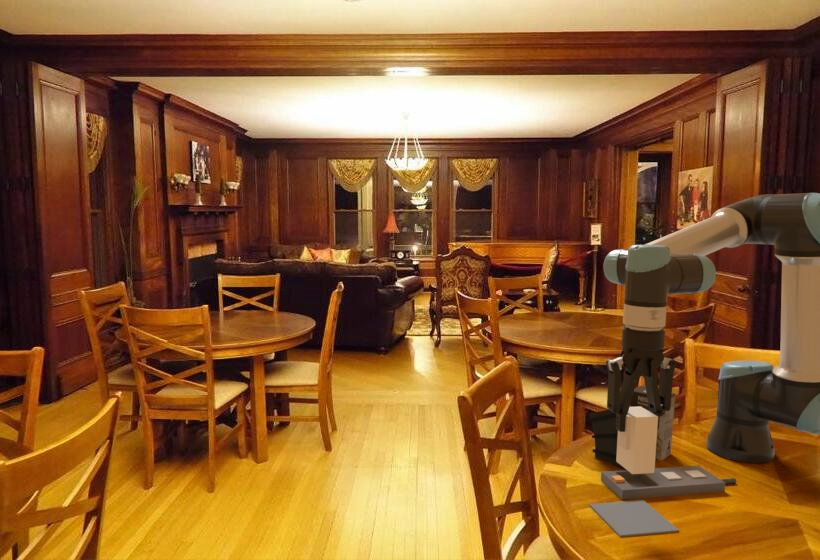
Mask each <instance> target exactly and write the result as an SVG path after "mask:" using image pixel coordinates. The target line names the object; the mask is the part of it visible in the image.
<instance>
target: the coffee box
mask: <svg viewBox="0 0 820 560" xmlns="http://www.w3.org/2000/svg"><path fill="white" fill-rule="evenodd" d="M675 404H676V393H675V392H672V396H671V408H670V410H669V411H663V412H664V415H663V416H660V422H659V429H658V430H657V441H656V455H655V460H658V461H663V460H664V459H666V458H667V457H668V456H670V455H671V454H672V445H673V444H672V442H673V432H674V431H673V429H674V420H675V419H674V418H675V417H674V416H675V406H676V405H675ZM638 406H641V407H642V408H644V409H646V410H648V411H650V410H649V405H648V399H647V393H646V386H645V385H639V386H638V387H635V389H634V393H633V396H632V400H631V403H630V407H638Z"/></svg>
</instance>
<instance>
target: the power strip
mask: <svg viewBox="0 0 820 560" xmlns="http://www.w3.org/2000/svg"><path fill="white" fill-rule="evenodd" d="M600 481H601V482H602V483H603V484H604V485H605V487H607V488H608V489H610V490H611V492H613V493H614V494H615V495H616V497H619V499H621V500H623V501H624V500H633V499H647V498H648V499H649V498H660V497H661V498H662V497H663V498H664V497H675V496H688V495H700V494H702V495H703V494H713V493H714V494H715V493H725V491H726V484H736V483H737V479H736V478H734V477H733V478H722V479H721V478H719V477H717V476H716V475H714V474H713V473H711V472H709V471H708V470H706V469H704V468H703V467H702V466H700V465H699V464H698V465H683V466H668V467H655V470H654V473H645V474H631V473H630V472H629V471H628V470H624V469H622V470H611V471H609V470H608V471H601V474H600Z"/></svg>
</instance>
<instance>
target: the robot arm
mask: <svg viewBox="0 0 820 560" xmlns="http://www.w3.org/2000/svg"><path fill="white" fill-rule="evenodd" d="M748 244H749V245H750V244H751V245H756V244H757V245H768V246H769V245H770V246H774V256H775V258H777V259H778V260H779V261H780V262H781V292H780V294H781V297H780V298H781V300H780V301H781V303H780V304H781V305H780V307H781V308H780V341H779V342H780V346H779V347H780V348H779V349H780V351H779V352H780V353H779V356H780V357H779V364H778V365H776V366H775V367H774V365H773V364H772V363H770V362H768V361H767V362H766V361H758V360H733V361H732V360H731V361H727V362H723V364H722V365H721V366H720V370H719V375H718V378H717V379H718V385H717V404H716V413H715V414H716V416H715V419H714V422H713V424H712V427H711V429H710V431H709V433H708V435H707V437H706V448H707V449H708V450H709V451H710V452H712V453H714V454H715V455H717V456H719V457H722V458H725V459H729V460H734V461H738V462H742V463H743V462H744V463H752V464H764V463H768V462H771V461H773V460H774V459H775V451H776V449H775V445H774V442H773V438H772V434H771V430H770V426H769V423H770V422H772V423H775V424H778V425H781V426H784V427H788V428H791V429H794V430H797V431H798V432H800V433H801V432H802V433H808V434H811V435H815V436H816V435H817V436H819V435H820V192H819V193H818V192H807V193H806V192H805V193H804V192H803V193H801V192H800V193H777V194H775V193H767V194H760V195H756V196H751V197H749V198H745V199H742V200H740V201H739V200H738V201H737V202H734V203H732V204H729V205H725V206H724V207H721V208H719V209H717V210H716V211H715V212H713V213H712V214H711V216H710V217H709V218H706V219H704V220H701V221H699V222H696V223H693V224H692V225H688V226H687V227H684V228H682V229H681V228H680V229H679V230H677V231H674V232H673V233H669V234H667V235H665V236H662V237H660V238H658V239H655V240H653V241H650V242H648V243H645V244H632V245H631V246H629V248H627V249H626V248H622V249H621V248H620V249H613V250H611V251H610V252H609V253H608V254H607V255H606V256H605V258H604V262H603V266H602V268H603V273H604V276H605V278H606V279H607V281H609V282H611V283H613V284H617V285H620V286H622V287H623V286H624V299H623V300H624V303H623V315H622V324H624V325H625V326H623V327H622V329H621V330H622V332H621V348H622V350H621V352H620V353H619V357H616V358H614V359H610V358H608V359H606V361H605V364H606V366H607V367H606V368H607V371H608V375H607V376H608V377H607V378H608V379H607V394H606V395H607V398H606V399H607V400H606V408H607V410H608V409H609V410H611V411H612V412H614V413H616V429H617V430H618V431H619V441H618V445H619V446H621V447H622V448H624V449H625V450H629V445H630V428H631V416H629V415H628V411H629V407H630V403H631V400H632V396H633V393H634V389H635V388H636V385H637V383H638V382H639V381H640V377H642V378H644V379H643V380H644V386H646V393H647V399H648V405H649V410H650V411H649V412H651V413H653V414H655V415H656V416H658V426H657V430H658V429H659V422H660V416H663V415H664V412H663V411H669V410H670V408H671V396H672V393H673V381H674V372H675V369H676V367H677V365H678V362H677V361H676V360H675V359H672V358H670V357H665V354H664V353H663V350H664V349H665V340H666V331H665V330H664V329H663V328H665V327H666V322H667V321H666V320H667V307H668V306H667V305H668V296H669V295H684V294H691V295H695V294H698V293H703V292H706V291H708V290H709V289H710V288H712V287H713V286H714V284H715V281H716V278H717V277H716V275H717V270H716V266H715V264H714V262H713V261H712V259H710V258H709V257H707V256H708V255H710V254H711V253H712V254H713V253H715V252H716V251H720V250H722V249H723V248H727V249H728V248H729V249H733V248H737V247H739V246H742V245H748ZM622 366H623V367H624V371H623V375H622V374H621V370H623V368H622ZM659 368H660V369H659ZM658 369H659V370H660V372H659V374H658ZM622 376H623V380H622V379H621V377H622ZM621 380H622V381H621ZM658 380H659V381H658ZM621 382H622V384H621Z"/></svg>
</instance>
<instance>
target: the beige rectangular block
mask: <svg viewBox="0 0 820 560" xmlns="http://www.w3.org/2000/svg"><path fill="white" fill-rule="evenodd" d="M628 415H629V416H631V428H630V445H629V450H625V449H624V448H622V447H621V446H619V445H618V441H619V431H618V439H617V455H616V462H618V463H619V464H620V465H621V466H623V467H624V468H625V469H626V470H628V471H629V472H630V473H631V474H645V473H654V470H655V468H656V459H655V455H656V441H657V426H658V416H656V415H655V414H653V413H651V412H649V411H648V410H646V409H644V408H642V407H641V406H638V407H629V411H628Z"/></svg>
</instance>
